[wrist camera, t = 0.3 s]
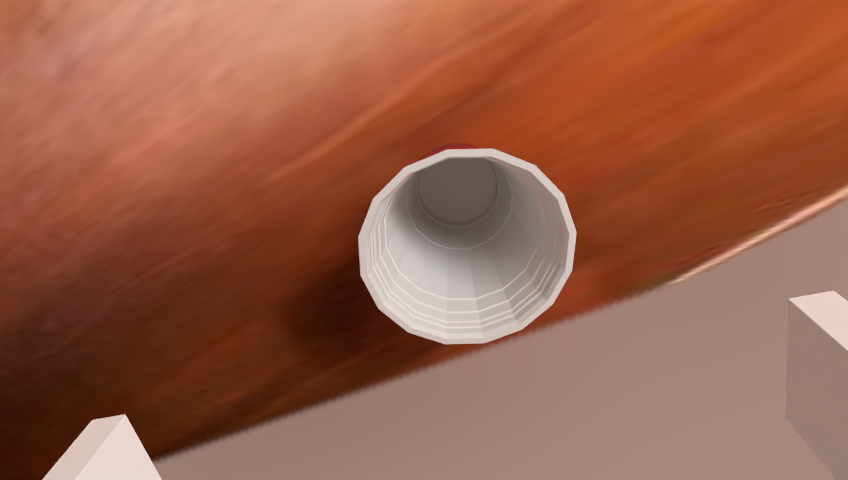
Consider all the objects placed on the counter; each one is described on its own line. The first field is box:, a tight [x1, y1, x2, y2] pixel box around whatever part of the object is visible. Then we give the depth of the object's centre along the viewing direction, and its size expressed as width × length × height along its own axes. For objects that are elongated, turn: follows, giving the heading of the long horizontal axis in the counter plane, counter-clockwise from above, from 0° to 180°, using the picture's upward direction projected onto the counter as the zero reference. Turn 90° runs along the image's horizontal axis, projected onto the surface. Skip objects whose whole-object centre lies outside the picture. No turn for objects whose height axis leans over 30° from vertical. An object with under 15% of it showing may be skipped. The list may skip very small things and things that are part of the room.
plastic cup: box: [358, 144, 576, 344], centre depth 33 cm, size 11×11×12 cm
